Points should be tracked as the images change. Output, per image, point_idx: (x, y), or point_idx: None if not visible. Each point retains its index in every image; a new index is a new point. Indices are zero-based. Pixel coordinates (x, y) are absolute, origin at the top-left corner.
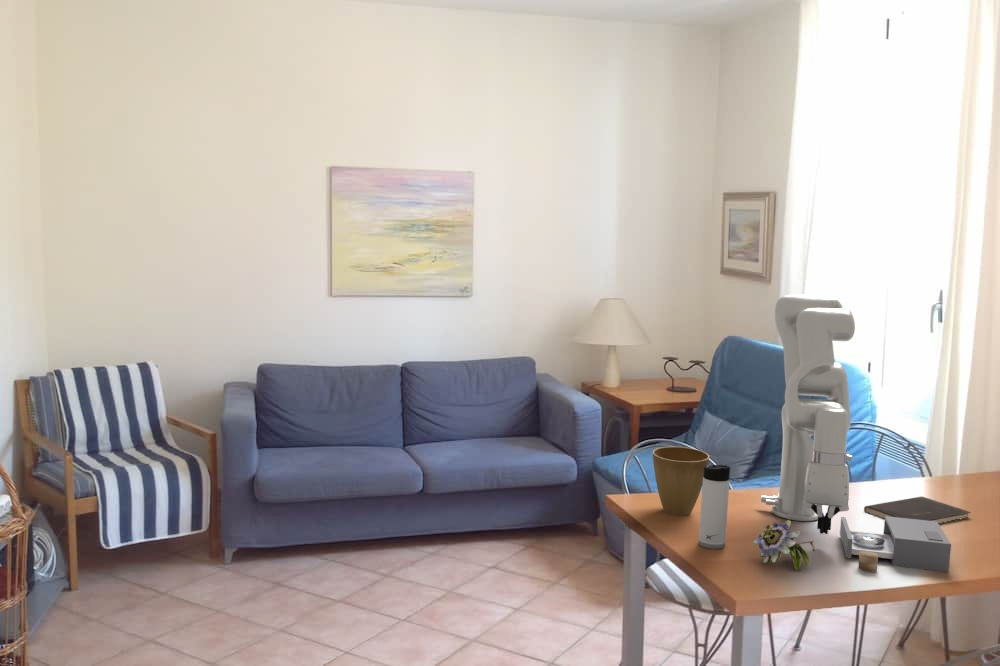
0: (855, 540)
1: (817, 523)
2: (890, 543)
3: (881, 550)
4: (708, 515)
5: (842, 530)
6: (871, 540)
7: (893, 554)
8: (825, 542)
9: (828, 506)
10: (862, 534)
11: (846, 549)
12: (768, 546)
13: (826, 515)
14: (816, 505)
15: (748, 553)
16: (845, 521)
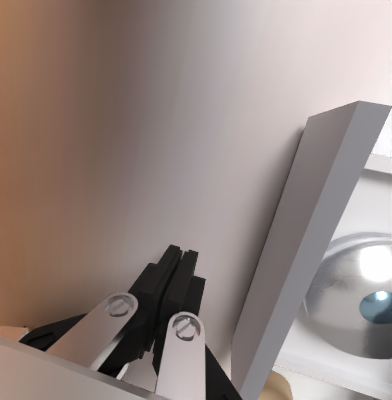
0: (304, 302)
1: (143, 272)
2: None
3: None
4: None
5: (291, 216)
6: (371, 337)
7: None
8: (217, 194)
9: (157, 383)
10: (373, 268)
11: (235, 347)
12: None
13: (154, 361)
14: (57, 355)
15: (6, 289)
16: (336, 206)
